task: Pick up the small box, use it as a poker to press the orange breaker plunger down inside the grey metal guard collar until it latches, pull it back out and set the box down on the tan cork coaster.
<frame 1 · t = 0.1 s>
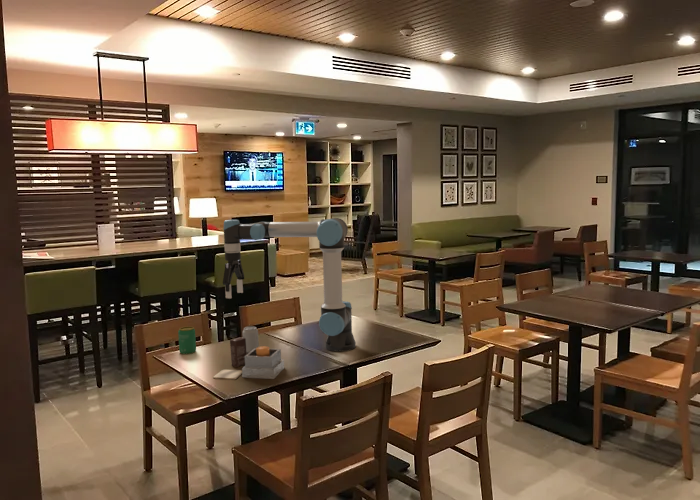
hand: (234, 295, 273), 28 cm above the table, fingers open, 13 cm apart
box: (239, 365, 256), on the table
plunger: (262, 352, 243), point 9 cm above the table, slide at 0.0 cm
can: (251, 352, 276), on the table
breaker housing: (263, 372, 244), on the table
coaster: (228, 375, 242), on the table
beverage can: (187, 352, 277), on the table
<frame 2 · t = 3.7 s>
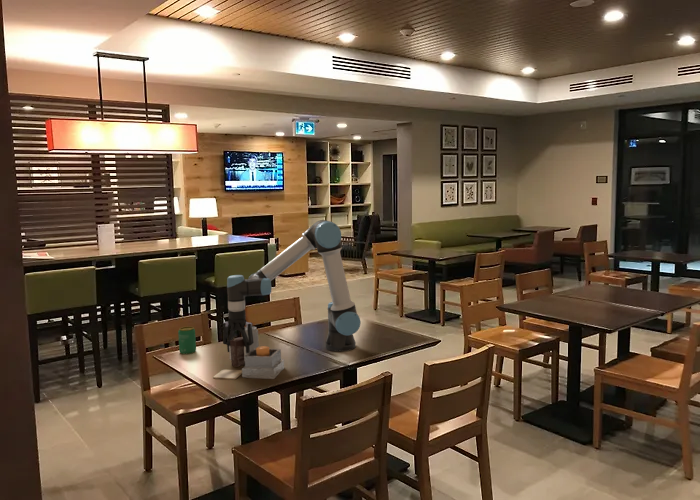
hand: (239, 359, 256), 2 cm above the table, fingers closed on box, 6 cm apart
box: (239, 365, 256), on the table, touching gripper
everything else where it was.
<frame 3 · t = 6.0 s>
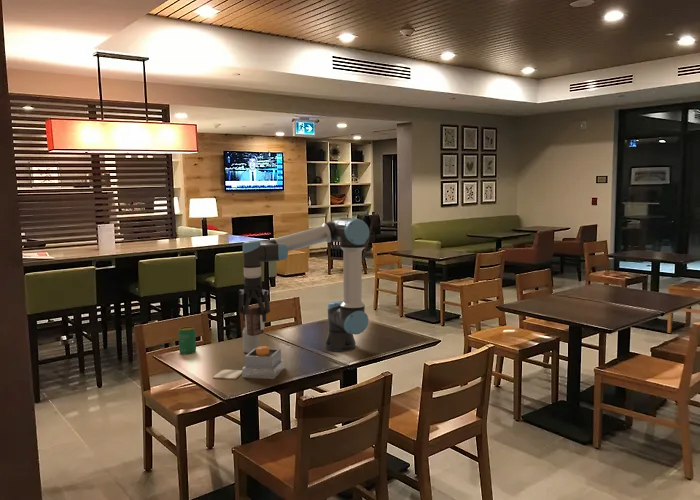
hand: (255, 328, 245), 19 cm above the table, fingers closed on box, 6 cm apart
box: (255, 334, 246), point 16 cm above the table, touching gripper
everything else where it was.
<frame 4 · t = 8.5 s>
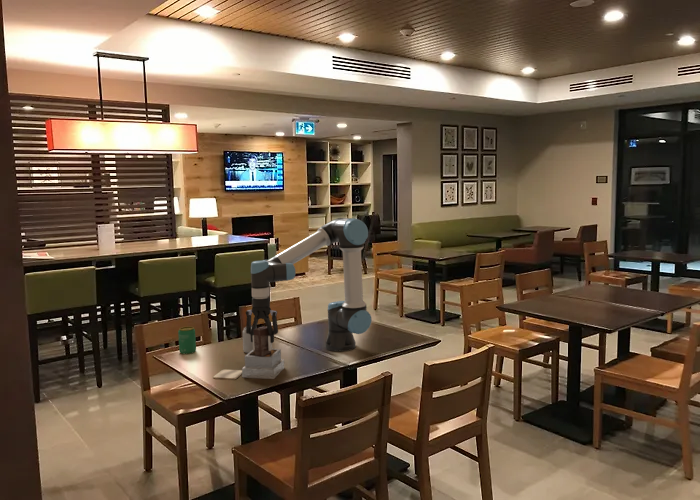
hand: (262, 349, 243), 10 cm above the table, fingers closed on box, 6 cm apart
box: (262, 355, 243), point 8 cm above the table, touching gripper, plunger
plunger: (263, 359, 243), point 6 cm above the table, slide at 3.2 cm, touching box
everything else where it was.
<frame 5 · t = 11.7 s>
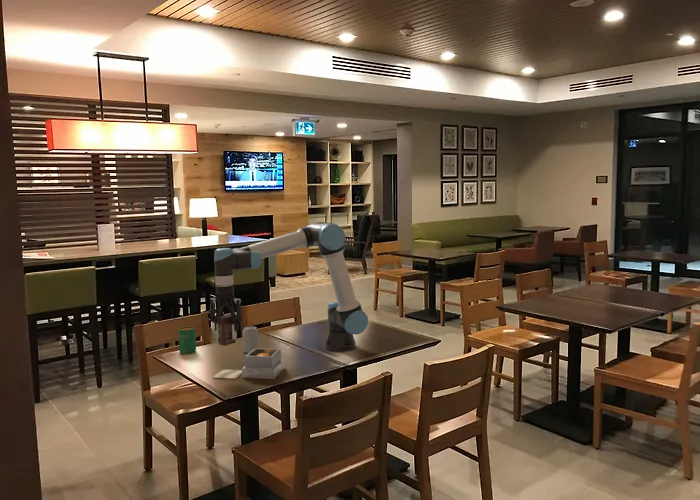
hand: (226, 338, 240), 16 cm above the table, fingers closed on box, 6 cm apart
box: (226, 344, 240), point 14 cm above the table, touching gripper
plunger: (263, 359, 243), point 6 cm above the table, slide at 3.1 cm
everything else where it was.
when the fingers open (4 cm above the table, at t = 14.4 s): box moves 1 cm, resting on coaster.
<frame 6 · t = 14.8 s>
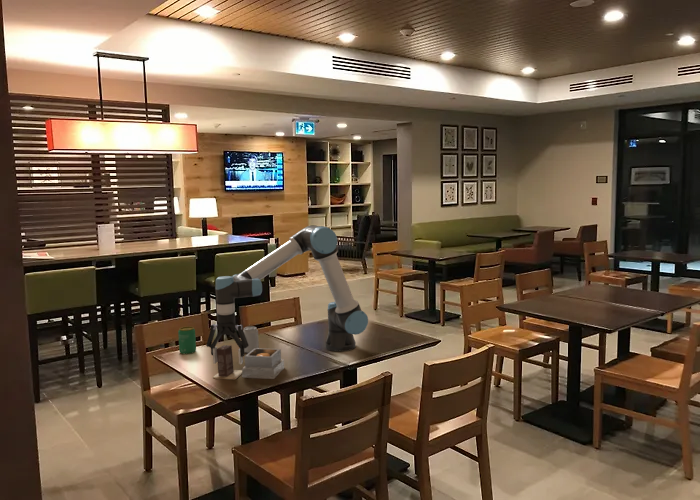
hand: (228, 363, 241), 5 cm above the table, fingers open, 11 cm apart
box: (225, 374, 241), resting on coaster
everything else where it was.
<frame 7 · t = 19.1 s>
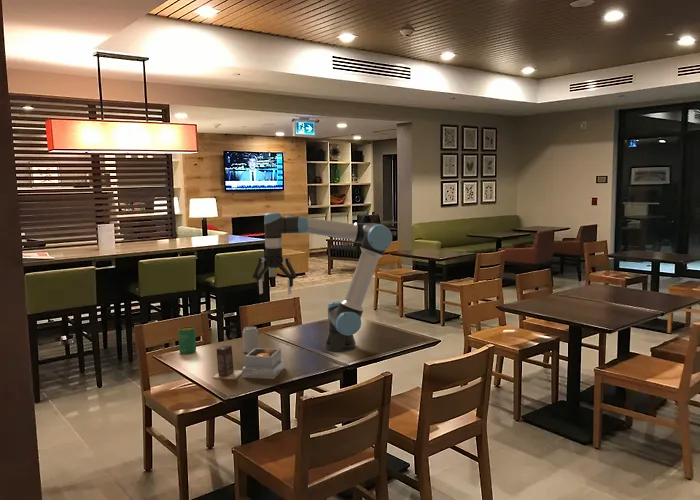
hand: (275, 293, 256), 32 cm above the table, fingers open, 13 cm apart
nothing on the table moved.
at the end: plunger slide at 3.1 cm; box inside the target area on the coaster (1.3 cm from its centre), point 0.4 cm above the coaster's base; box tilted 0° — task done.
